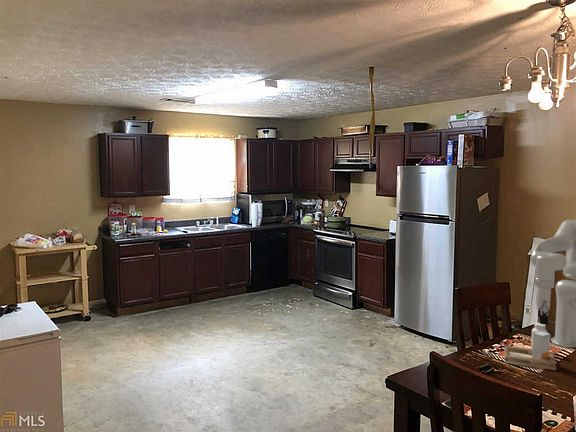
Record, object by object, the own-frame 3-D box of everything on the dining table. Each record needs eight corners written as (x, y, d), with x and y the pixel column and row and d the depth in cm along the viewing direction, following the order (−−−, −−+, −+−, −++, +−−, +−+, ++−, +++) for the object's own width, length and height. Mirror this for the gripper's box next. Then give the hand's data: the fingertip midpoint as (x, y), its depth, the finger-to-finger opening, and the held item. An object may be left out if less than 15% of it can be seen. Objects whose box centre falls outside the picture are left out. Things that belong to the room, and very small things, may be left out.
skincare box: (540, 362, 214) (542, 335, 213) (531, 358, 218) (533, 332, 217) (549, 359, 217) (550, 333, 216) (540, 356, 221) (541, 330, 220)
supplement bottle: (548, 353, 227) (550, 326, 226) (533, 352, 229) (534, 325, 227) (543, 348, 234) (545, 322, 233) (529, 347, 235) (530, 321, 234)
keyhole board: (504, 350, 231) (504, 345, 230) (552, 357, 223) (552, 351, 223) (504, 362, 216) (505, 357, 216) (556, 370, 208) (556, 364, 208)
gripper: (533, 278, 224) (532, 314, 226) (536, 287, 208) (534, 325, 210) (552, 279, 221) (550, 316, 223) (556, 288, 205) (554, 328, 207)
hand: (542, 320), depth 216 cm, fingers open, 9 cm apart
